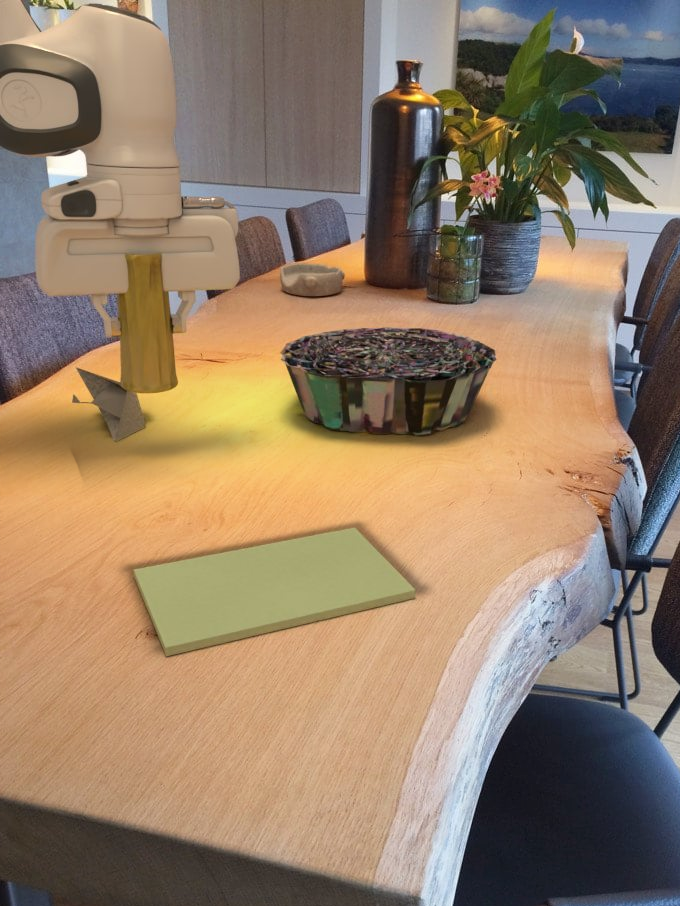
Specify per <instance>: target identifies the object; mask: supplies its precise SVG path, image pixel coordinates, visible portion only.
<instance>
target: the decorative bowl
mask: <svg viewBox="0 0 680 906" xmlns="http://www.w3.org/2000/svg"><path fill="white" fill-rule="evenodd" d="M279 353H280V354H281V355H282V356H281V358H280V360H281V361H282V362H283V363H284V364H285V367H286V369H287V372H288V375H289V378H290V380H291V383H292V385H293V388H294V391H295V393H296V396H297V399H298V401H299V404H300V407H301V409H302V412H303V414H304V416H305V417H306V418H307V420H308V421H309V422H310V423H314V424H322V425H323V427H325V428H326V429H328V430H332V431H336V432H349V433H354V434H355V433H369V434H371V435H389V434H391V433H393V434H400V435H406V434H407V435H410V436H415V437H418V436H424V435H432V434H433V433H434V432H435V431H444V430H446V429H448V428H455V427H459V426H460V425H461V424H462V423H464V422H465V421H466V419H467V417H468V416H469V415H470V413H471V412H472V409H473V407H474V404H475V402H476V400H477V398H478V396H479V393H480V392H481V390H482V387H483V385H484V382H485V380H486V378H487V376H488V374H489V371H490V369H492V365H493V364H494V362H496V361H497V358H496V350H495V349H493V348H492V347H490V346H488V345H487V344H485V343H483V342H480V341H479V340H475V339H472V338H471V337H469V336H467V335H463V334H457V333H453V332H446V331H442V330H438V329H430V328H420V327H413V328H412V327H411V328H406V327H405V328H404V327H388V326H385V327H362V328H361V327H360V328H346V329H345V328H344V329H343V328H342V329H337V330H330V331H324V332H320V333H315V334H308V335H304V336H302V337H301V336H300V338H297V339H295V340H292V341H290V342H288V343H286V344H285V346H284V347H283V348H282V350H280V352H279Z"/></svg>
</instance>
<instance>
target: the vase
mask: <svg viewBox="0 0 680 906" xmlns="http://www.w3.org/2000/svg"><path fill="white" fill-rule="evenodd" d="M125 259H126V262H127V269H128V285H129V286H128V290H127V292H126V293H123V294H116V304H117V305H116V306H117V317H118V318H119V320H120V321H121V328H120V330H121V331H122V336H121V337H119V346H120V347H119V348H120V353H119V354H120V381H119V382H120V385H121V387H122V388H123V389H125V390H127V391H130V392H135V393H137V394H158V393H159V394H160V393H164V392H169V391H171V390H173V389H175V388H176V387H178V385H179V379H178V376H177V375H178V374H177V370H176V357H175V356H176V355H175V345H174V344H175V343H174V334H172V323H171V314H172V313H171V304H170V294H169V293H170V292H165V291H164V288H163V277H162V254H161V253H158V254H147V255H137V254H125Z"/></svg>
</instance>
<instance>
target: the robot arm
mask: <svg viewBox="0 0 680 906" xmlns="http://www.w3.org/2000/svg"><path fill="white" fill-rule="evenodd" d="M169 43H170V42H169V41H168V39H167V36H166V34H165V33H164V32H163V31H162V29H161V28H160V27H159V26H158V24H156V23H155V22H154V21H152V20H151V19H150V18H148V17H147V16H146V15H140V14H139V13H137V12H135V11H131V10H129V9H124V8H121V7H117V6H113V5H109V4H103V3H86V4H83V5H80V7H79V8H78V9H77V10H76V11H75V12H74V13H73V14H72V15H70V16H69V17H67V18H66V19H64V20H62V21H60V22H59V23H57V24H55V25H53V26H51V27H49V28H47V29H45V30H41V29H40V27H39V26H38V24H37V23H36V22H35V20H34V18H33V17H32V15H31V13H30V12H29V11H28V8H27V7H26V5H25V3H24V2H23V0H0V148H2V149H4V150H6V151H9V152H11V153H13V154H15V155H18V156H22V157H26V158H47V157H55V158H56V157H65V156H68V155H72V154H73V153H76V152H78V151H80V152H82V153H83V154H84V157H85V164H86V175H85V176H83V177H80V178H77V179H73V180H71V181H67V182H64V183H60V184H57V185H54V186H50V187H48V188H46V189H44V190H43V191H42V192H41V196H40V201H41V207H42V210H43V212H44V213H45V214H46V215H44V217H43V218H41V220H40V221H39V223H38V225H37V228H36V231H35V247H34V248H35V249H34V261H35V262H34V264H35V276H36V284H37V287H38V288H39V289H40V290H41V291H42V292H43V293H44V294H45V295H46V296H47V297H71V296H89V298H90V303H91V304H92V305H93V307H94V308H95V310H96V311H97V313H98V314H99V315H100V317H101V319H102V320H103V329H104V334H105V337H106V338H109V339H111V338H120V337H121V336H122V331H121V330H120V328H121V321H120V320H119V318H118V316H110V315H109V313H108V312H107V311H106V309H105V308H104V306H108V303H109V302H108V295H117V294H123V293H126V292H127V290H128V286H129V285H128V269H127V262H126V259H125V254H137V255H147V254H158V253H161V254H162V277H163V288H164V291H165V292H169V293H170V292H177V297H178V298H179V299H180V300H181V302H180V304H179V306H178V308H177V310H176V312H175V313H171V323H172V334H173V335H174V334H175V335H176V334H186V333H187V318H188V316H189V314H190V312H191V310H192V309H193V307H194V305H195V304H196V291H217V290H219V291H220V290H233V289H234V288H236V287H237V285H238V283H239V282H240V280H241V272H240V271H241V269H240V260H239V254H238V248H237V242H236V238H237V236H238V234H239V215H238V214H239V213H238V211H237V209H236V207H235V206H234V205H233V204H232V203H231V202H229V201H226V200H225V198H224V197H220V196H210V197H200V196H186V195H185V196H182V183H181V163H180V159H179V155H178V153H177V149H176V143H175V141H176V140H175V134H176V133H175V132H176V127H177V122H178V102H177V89H176V80H175V79H176V78H175V69H174V62H173V58H172V57H173V56H172V51H171V47H170V44H169ZM225 206H226V207H225Z"/></svg>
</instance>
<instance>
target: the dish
mask: <svg viewBox="0 0 680 906" xmlns="http://www.w3.org/2000/svg"><path fill="white" fill-rule="evenodd" d="M345 276H346V274H345V271H343V270H342V269H341V268H340V267H338V266H332V267H330V266H328V265H326V264H320V263H305V262H303V263H301V262H300V263H291V264H287V265H284V266H281V267H280V269H279V280H280V285H281V288H282V290H283V291H284V292H285V293H287V294H291V295H294V296H300V297H302V296H303V297H322V296H323V297H324V296H330V295H336V294H338V293H340V292H341V291H342V288H343V281H344V280H345Z"/></svg>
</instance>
